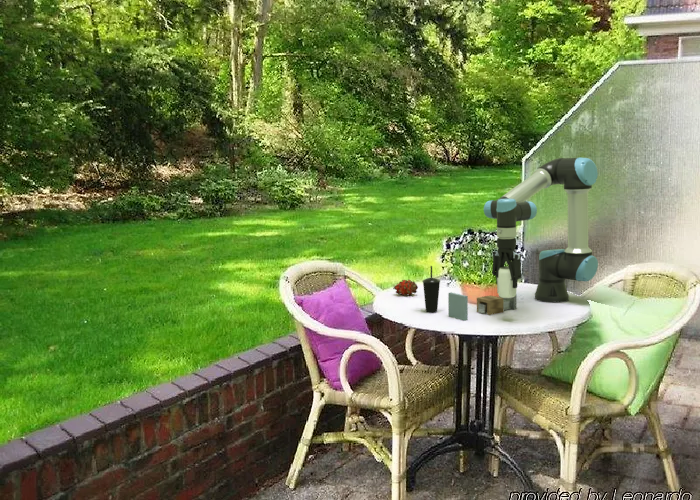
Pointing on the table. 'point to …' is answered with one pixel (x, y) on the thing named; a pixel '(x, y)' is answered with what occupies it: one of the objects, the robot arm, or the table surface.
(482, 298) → the tan wooden block
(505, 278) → the can
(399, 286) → the red pine cone
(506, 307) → the shaft
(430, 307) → the drinking cup
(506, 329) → the table surface
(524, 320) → the table surface
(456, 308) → the end plate
